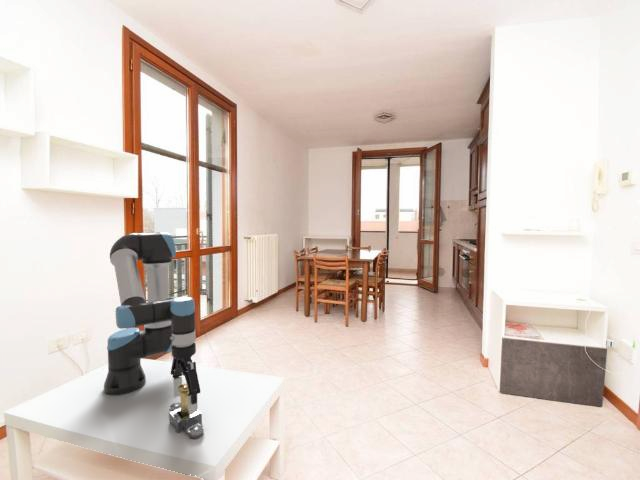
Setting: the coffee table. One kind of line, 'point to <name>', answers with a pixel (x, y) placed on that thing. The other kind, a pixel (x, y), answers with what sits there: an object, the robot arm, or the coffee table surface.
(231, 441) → the coffee table surface
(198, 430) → the chain ends
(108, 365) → the robot arm
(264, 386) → the coffee table surface
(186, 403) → the pin
